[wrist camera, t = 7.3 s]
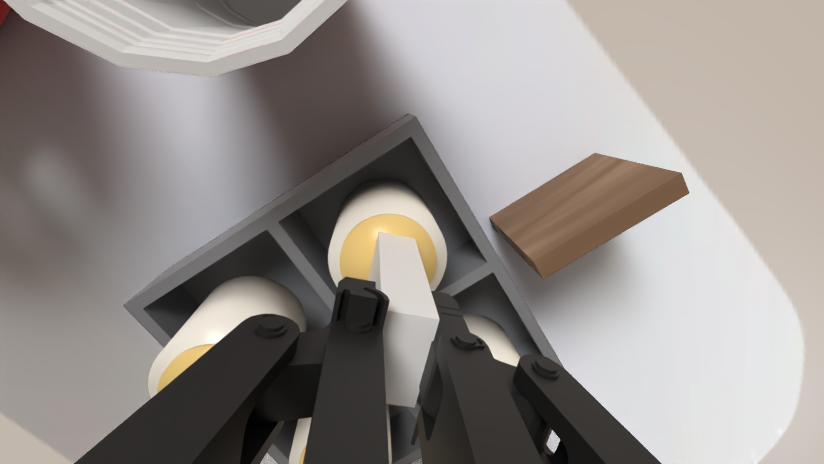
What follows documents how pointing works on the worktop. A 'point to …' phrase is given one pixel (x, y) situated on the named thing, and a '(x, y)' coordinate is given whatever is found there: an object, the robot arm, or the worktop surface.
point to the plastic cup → (181, 30)
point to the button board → (308, 259)
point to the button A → (222, 323)
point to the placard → (585, 209)
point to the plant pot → (3, 10)
